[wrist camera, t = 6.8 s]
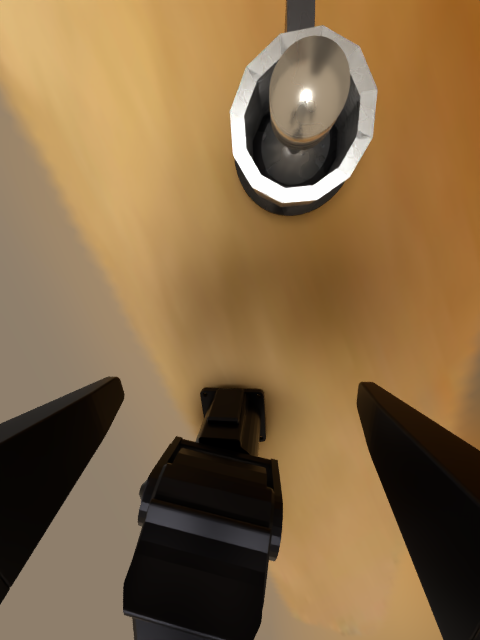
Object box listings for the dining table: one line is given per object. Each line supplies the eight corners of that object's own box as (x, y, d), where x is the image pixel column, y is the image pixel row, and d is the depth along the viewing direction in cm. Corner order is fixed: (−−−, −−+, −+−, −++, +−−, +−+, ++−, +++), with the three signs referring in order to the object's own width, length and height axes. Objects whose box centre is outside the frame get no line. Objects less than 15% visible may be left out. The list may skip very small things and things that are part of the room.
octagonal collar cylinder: (349, 211, 18) (377, 207, 13) (240, 219, 19) (227, 219, 14) (363, 39, 14) (408, -55, 9) (229, 64, 16) (207, -9, 11)
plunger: (326, 181, 16) (364, 151, 9) (263, 188, 17) (252, 164, 10) (330, 102, 15) (380, -8, 8) (260, 113, 15) (246, 20, 8)
